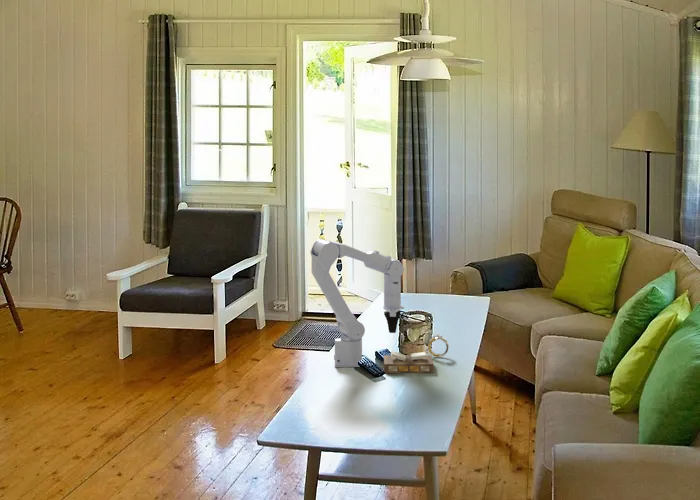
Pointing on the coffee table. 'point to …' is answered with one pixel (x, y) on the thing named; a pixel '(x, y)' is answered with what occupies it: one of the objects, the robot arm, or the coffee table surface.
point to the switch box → (408, 365)
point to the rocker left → (398, 355)
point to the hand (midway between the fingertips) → (392, 332)
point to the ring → (435, 340)
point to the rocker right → (418, 355)
